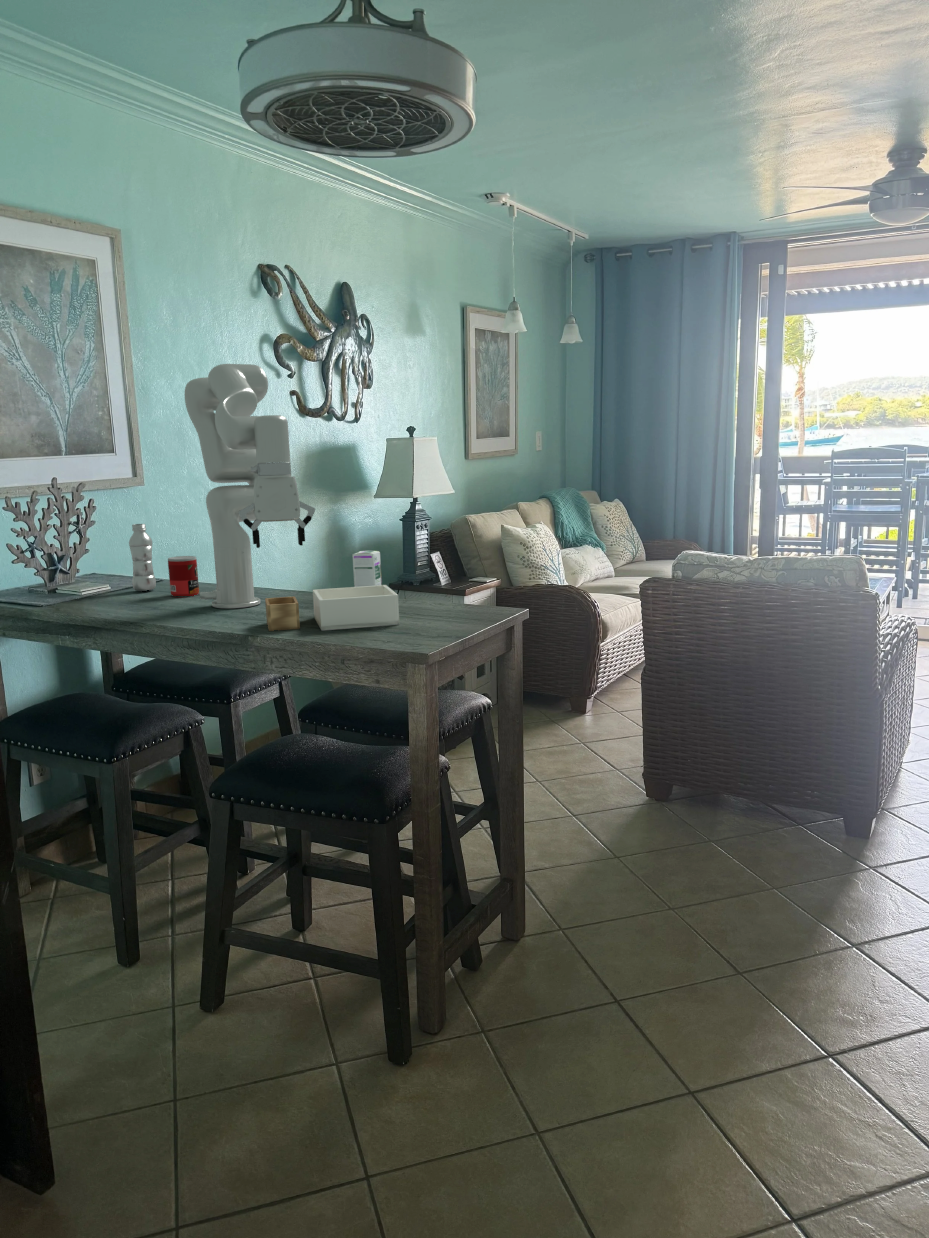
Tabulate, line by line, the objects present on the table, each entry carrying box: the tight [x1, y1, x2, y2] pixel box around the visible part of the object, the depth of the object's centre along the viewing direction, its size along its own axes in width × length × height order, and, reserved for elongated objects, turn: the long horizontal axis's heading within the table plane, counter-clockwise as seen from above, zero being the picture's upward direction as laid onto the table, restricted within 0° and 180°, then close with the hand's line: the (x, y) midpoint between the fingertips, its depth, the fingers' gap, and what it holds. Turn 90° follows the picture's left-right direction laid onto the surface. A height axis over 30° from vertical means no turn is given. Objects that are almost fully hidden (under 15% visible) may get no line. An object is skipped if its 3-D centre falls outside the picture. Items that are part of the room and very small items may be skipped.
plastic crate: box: [312, 584, 400, 631], centre depth 210 cm, size 18×16×7 cm
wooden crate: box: [264, 596, 301, 632], centre depth 207 cm, size 7×10×6 cm
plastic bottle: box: [128, 523, 157, 592], centre depth 263 cm, size 6×7×20 cm
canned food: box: [167, 555, 200, 597], centre depth 255 cm, size 8×8×11 cm
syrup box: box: [351, 550, 383, 587], centre depth 227 cm, size 6×6×14 cm
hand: (279, 546), depth 204 cm, fingers open, 9 cm apart
